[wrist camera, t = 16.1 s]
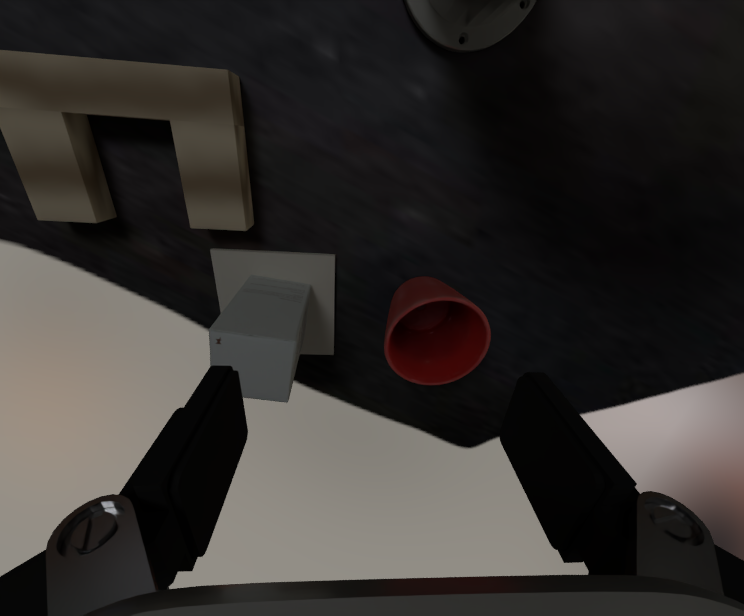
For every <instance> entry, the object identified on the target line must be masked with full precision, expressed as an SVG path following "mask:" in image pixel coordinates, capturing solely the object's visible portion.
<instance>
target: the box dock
mask: <svg viewBox="0 0 744 616" xmlns="http://www.w3.org/2000/svg"><path fill="white" fill-rule="evenodd" d="M87 115H98V116H112V117H125V118H138V119H151V120H165V121H170V124H171V129H172V134H173V139H174V144H175V150H176V155H177V160H178V165H179V170H180V175H181V181H182V186H183V191H184V196H185V201H186V207H187V212H188V217H189V222H190V227H191V228H200V229H219V230H238V231H247V230H248V229H249V228H250V227H252V226H253V225H254V217H253V207H252V197H251V188H250V178H249V168H248V158H247V148H246V139H245V129H244V119H243V109H242V100H241V90H240V80H239V76H237V75H235V74H234V73H232V72H230V71H229V70H223V69H211V68H200V67H189V66H177V65H166V64H154V63H143V62H131V61H120V60H109V59H97V58H86V57H74V56H63V55H51V54H40V53H29V52H17V51H6V50H0V128H1V131H2V133H3V136H4V138H5V141H6V143H7V145H8V148H9V150H10V153H11V155H12V158H13V160H14V163H15V165H16V168H17V170H18V172H19V175H20V177H21V180H22V182H23V185H24V187H25V190H26V192H27V195H28V197H29V200H30V202H31V204H32V207H33V209H34V212H35V214H36V217H37V219H38V220H47V221H66V222H85V223H99V222H102V221H106V220H109V219H112V218H115V217H117V215H116V212H115V209H114V205H113V202H112V198H111V195H110V192H109V188H108V185H107V181H106V178H105V175H104V171H103V168H102V164H101V161H100V158H99V154H98V151H97V147H96V144H95V141H94V137H93V134H92V130H91V127H90V124H89V120H88V117H87Z"/></svg>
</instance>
